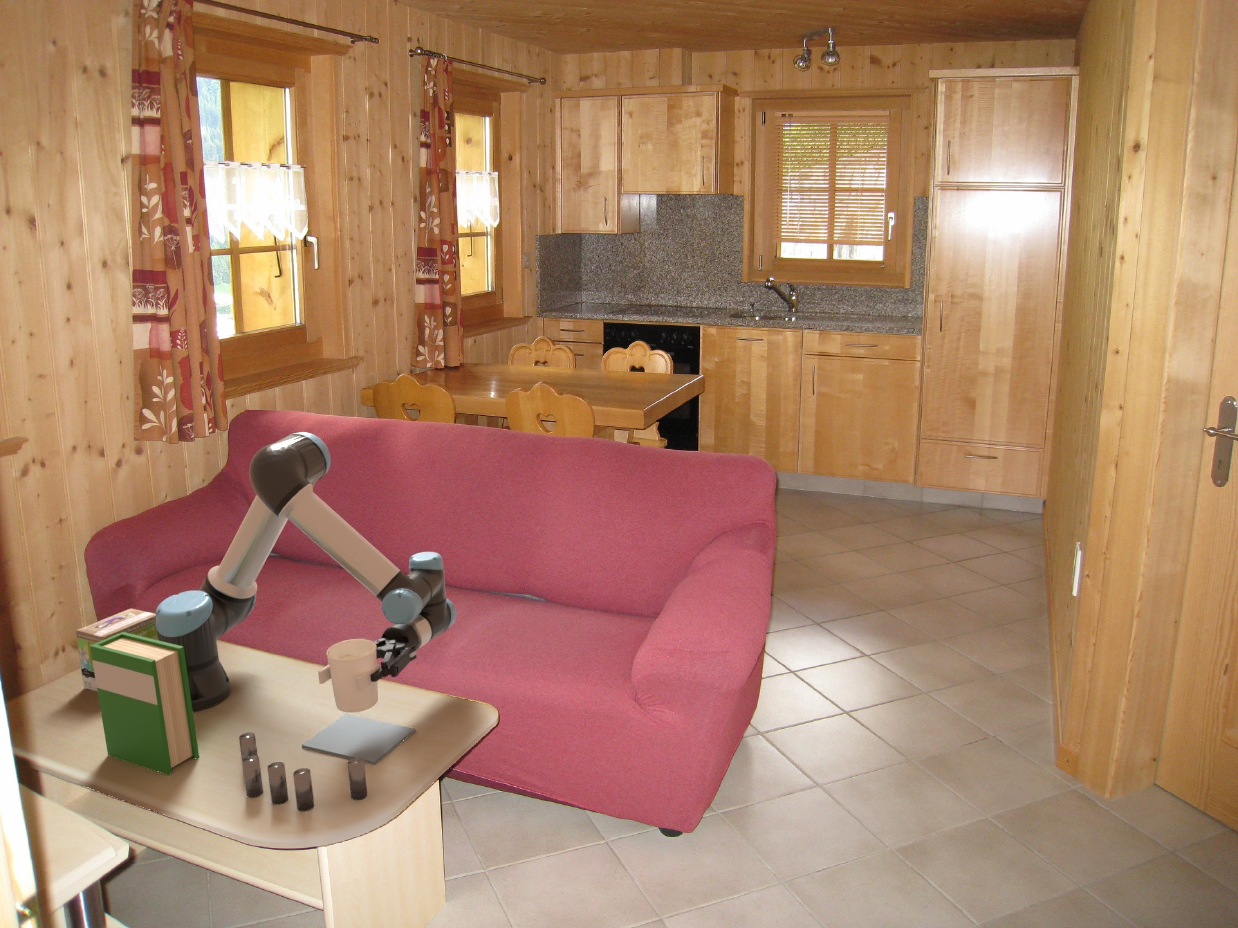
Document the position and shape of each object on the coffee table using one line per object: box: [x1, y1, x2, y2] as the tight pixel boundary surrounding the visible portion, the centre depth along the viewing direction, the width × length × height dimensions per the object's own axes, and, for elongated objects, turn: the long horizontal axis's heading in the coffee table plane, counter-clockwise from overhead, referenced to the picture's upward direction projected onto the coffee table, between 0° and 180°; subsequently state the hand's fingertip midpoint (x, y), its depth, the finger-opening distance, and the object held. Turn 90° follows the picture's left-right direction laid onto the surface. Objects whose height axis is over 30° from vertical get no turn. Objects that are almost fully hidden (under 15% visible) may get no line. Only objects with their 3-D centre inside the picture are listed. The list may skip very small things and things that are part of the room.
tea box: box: [75, 608, 159, 693], centre depth 235 cm, size 15×10×15 cm, turn 155°
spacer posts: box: [238, 731, 368, 812], centre depth 188 cm, size 29×10×7 cm, turn 66°
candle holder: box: [325, 638, 379, 713], centre depth 203 cm, size 10×10×12 cm
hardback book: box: [90, 632, 200, 776], centre depth 199 cm, size 18×7×24 cm, turn 63°
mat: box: [301, 713, 417, 765], centre depth 207 cm, size 18×14×1 cm
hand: (339, 681), depth 199 cm, fingers closed on candle holder, 9 cm apart
